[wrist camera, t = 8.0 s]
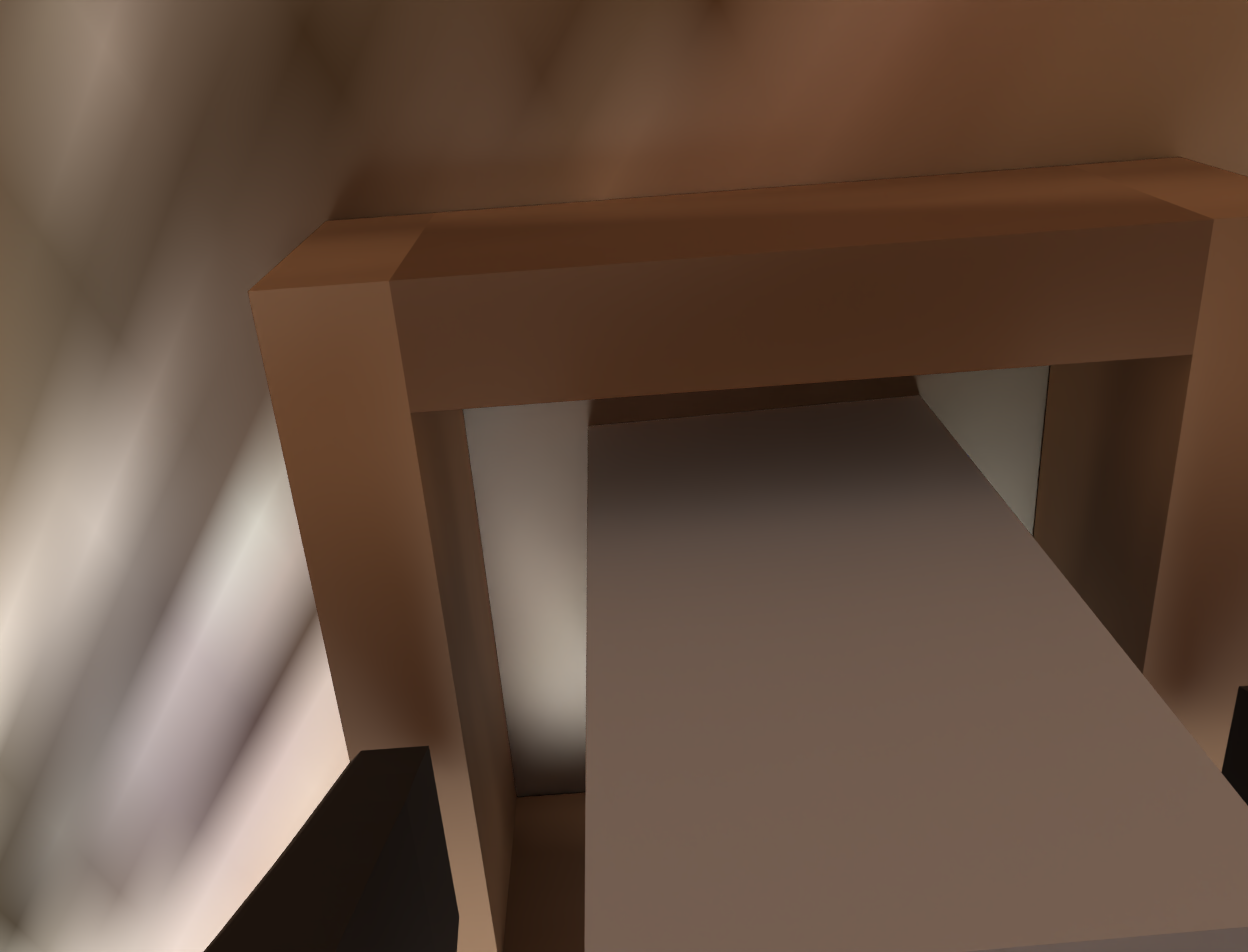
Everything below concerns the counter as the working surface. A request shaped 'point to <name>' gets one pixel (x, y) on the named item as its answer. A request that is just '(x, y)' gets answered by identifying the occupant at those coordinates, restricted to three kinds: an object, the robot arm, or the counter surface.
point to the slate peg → (870, 710)
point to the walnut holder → (743, 358)
